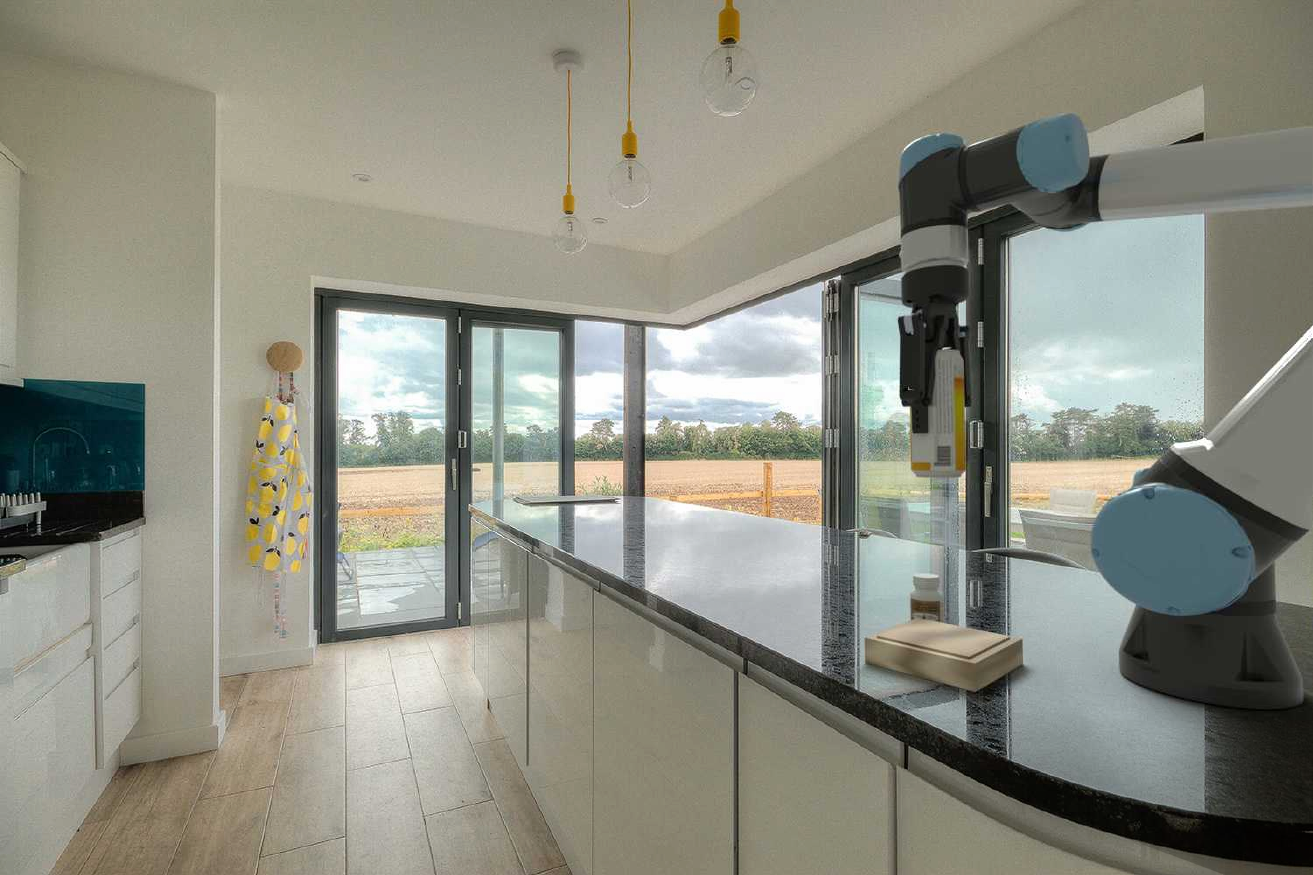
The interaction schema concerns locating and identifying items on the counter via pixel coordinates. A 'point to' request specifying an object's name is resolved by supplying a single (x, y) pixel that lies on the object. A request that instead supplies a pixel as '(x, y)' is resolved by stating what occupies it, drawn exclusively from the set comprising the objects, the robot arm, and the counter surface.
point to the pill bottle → (926, 598)
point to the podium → (945, 653)
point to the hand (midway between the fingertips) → (938, 461)
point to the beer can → (947, 419)
